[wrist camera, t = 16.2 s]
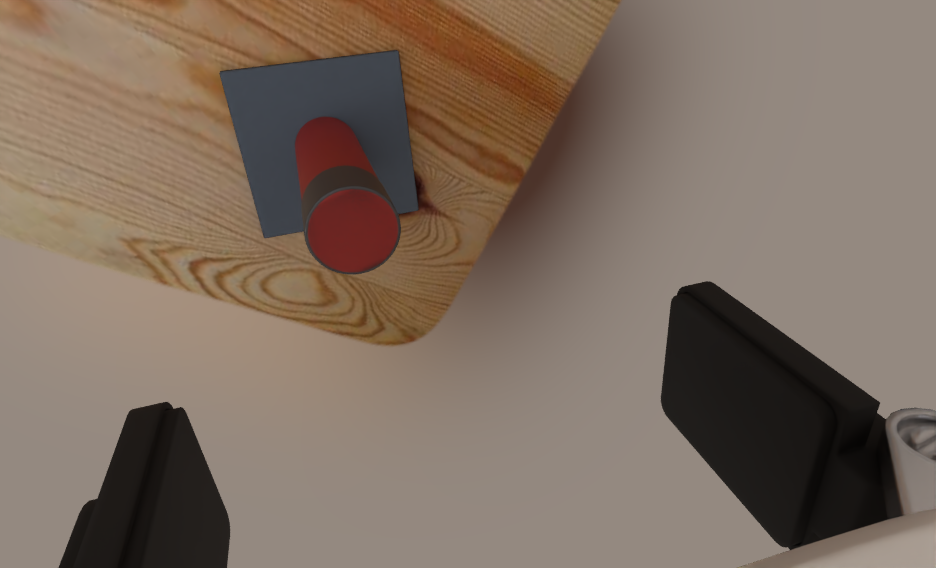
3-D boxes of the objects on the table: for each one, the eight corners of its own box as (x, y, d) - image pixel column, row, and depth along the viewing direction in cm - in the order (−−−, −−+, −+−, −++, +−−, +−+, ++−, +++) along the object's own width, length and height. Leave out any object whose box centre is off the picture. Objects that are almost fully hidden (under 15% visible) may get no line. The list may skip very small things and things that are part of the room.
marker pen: (353, 111, 28) (394, 178, 19) (364, 173, 29) (406, 265, 20) (287, 120, 27) (294, 195, 18) (301, 183, 29) (315, 283, 19)
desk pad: (396, 49, 28) (398, 50, 27) (417, 208, 31) (418, 210, 31) (219, 71, 26) (219, 72, 26) (264, 235, 30) (264, 238, 29)
